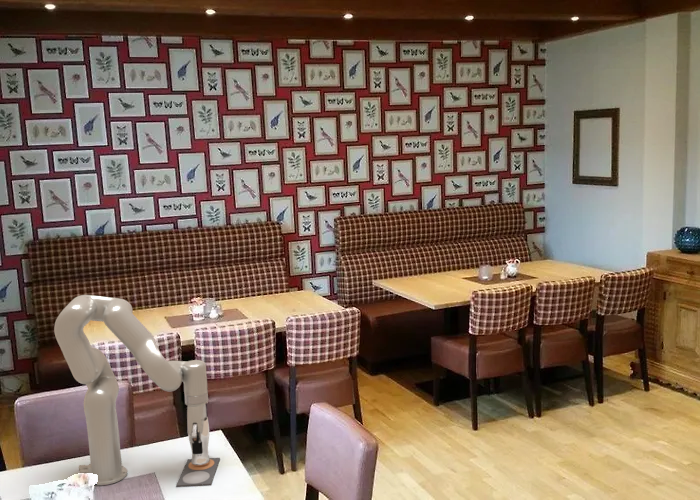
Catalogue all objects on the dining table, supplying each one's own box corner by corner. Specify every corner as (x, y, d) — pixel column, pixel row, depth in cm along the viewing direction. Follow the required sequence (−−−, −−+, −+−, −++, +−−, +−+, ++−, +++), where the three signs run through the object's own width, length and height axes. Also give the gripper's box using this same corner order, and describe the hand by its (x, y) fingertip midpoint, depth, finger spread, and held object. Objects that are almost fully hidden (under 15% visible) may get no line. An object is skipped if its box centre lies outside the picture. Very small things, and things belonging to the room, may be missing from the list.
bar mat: (176, 487, 225) (176, 484, 225) (187, 460, 244) (187, 458, 244) (211, 485, 225) (210, 483, 225) (220, 459, 244) (219, 457, 244)
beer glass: (206, 467, 235) (203, 423, 233) (186, 465, 237) (183, 422, 234) (214, 458, 242) (211, 415, 240) (195, 456, 243) (192, 414, 241)
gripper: (190, 389, 244) (193, 439, 247) (179, 407, 227) (183, 460, 230) (211, 388, 245) (215, 438, 247) (203, 406, 227) (206, 459, 230)
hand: (199, 448), depth 239 cm, fingers closed on beer glass, 6 cm apart
